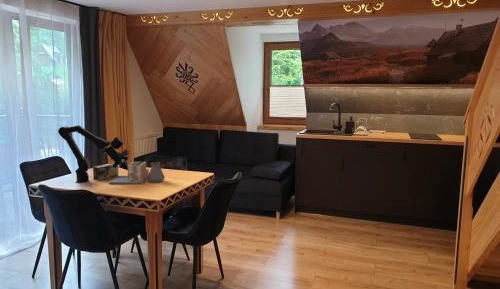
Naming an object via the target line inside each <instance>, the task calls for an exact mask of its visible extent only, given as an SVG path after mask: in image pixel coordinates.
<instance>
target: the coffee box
mask: <svg viewBox="0 0 500 289" xmlns="http://www.w3.org/2000/svg"><path fill="white" fill-rule="evenodd" d="M114 163H115V162H114ZM114 163H108V164H102V165H97V166H92V171H93V172H92V173H93V175H92V176H93V180H96V181H102V180H105V179H106V180H107V179H111V178H117V176H120V175H119V168H118V167H119V165H118V166H117V167H116V168H114V167H113V164H114Z"/></svg>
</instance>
